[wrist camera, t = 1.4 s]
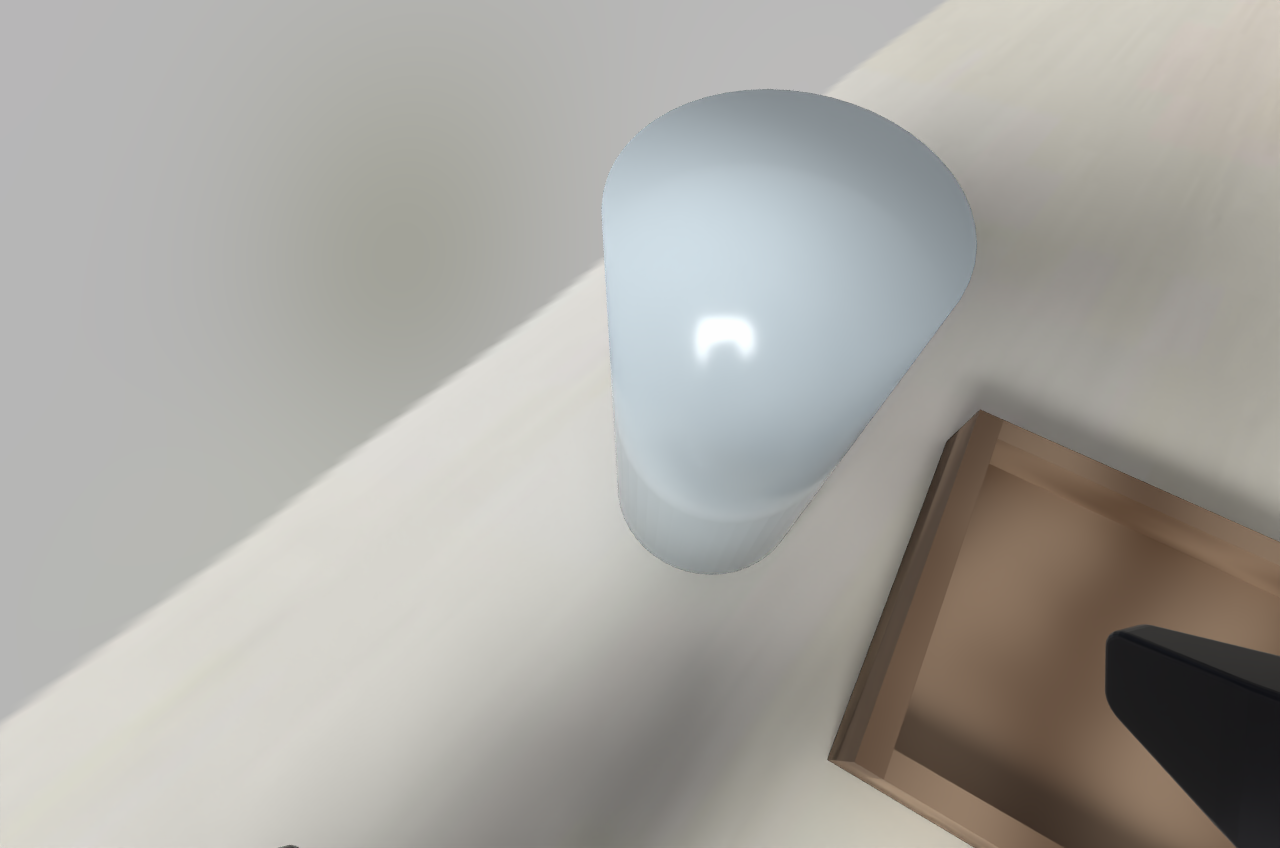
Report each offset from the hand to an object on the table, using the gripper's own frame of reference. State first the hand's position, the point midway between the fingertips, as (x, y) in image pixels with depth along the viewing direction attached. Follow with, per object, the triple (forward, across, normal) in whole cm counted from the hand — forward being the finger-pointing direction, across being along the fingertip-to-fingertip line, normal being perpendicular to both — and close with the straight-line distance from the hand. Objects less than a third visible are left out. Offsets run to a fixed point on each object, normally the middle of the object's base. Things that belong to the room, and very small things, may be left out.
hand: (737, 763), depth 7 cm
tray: (+10, -13, +9) cm, 18 cm away
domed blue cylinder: (+15, -3, +2) cm, 16 cm away
